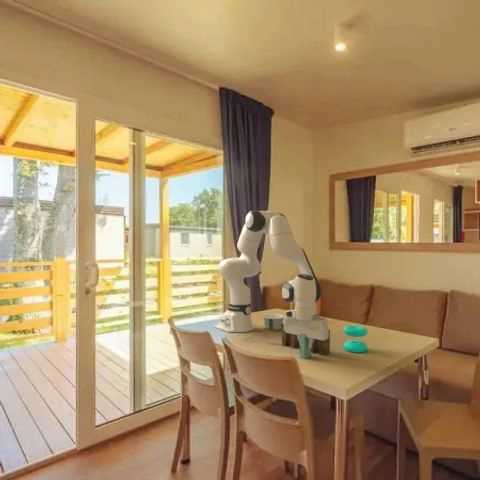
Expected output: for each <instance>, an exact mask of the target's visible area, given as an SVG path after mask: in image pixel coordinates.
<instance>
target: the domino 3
mask: <svg viewBox="0 0 480 480" xmlns="http://www.w3.org/2000/svg"><path fill="white" fill-rule="evenodd" d="M309 341H310V340H309V338H308V337H305V334H302V333H301V334H300V347H299V348H300V349H299V351H300V352H299V355H300V357H299V358H300V359H304V360H306V359H308V358H310V357H311V356H312V353H311V348H307V343H309Z"/></svg>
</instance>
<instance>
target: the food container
mask: <svg viewBox="0 0 480 480" xmlns="http://www.w3.org/2000/svg"><path fill="white" fill-rule="evenodd" d="M285 317H286V316H285V314H284V315H283V314H278V313H268V314H267V313H266V314H263V315H262V318H263V320H264V321H263V322H264V329H266V330H271V331H276V330H277V331H278V330H282V324H283V323H284V319H285Z"/></svg>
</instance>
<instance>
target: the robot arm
mask: <svg viewBox="0 0 480 480" xmlns="http://www.w3.org/2000/svg"><path fill="white" fill-rule="evenodd" d="M263 234H268V238H269V242H270V247H271V250H272V251H273V253H275V254H276V255H277V256H278V257H280V258H284V259H286V260H289V261H291V262H294V263H295V264H296V266H297V268H298V269H299V271H300V273H299V274H297V275H296V276H295V277H294V278H293V279H292V280H287V281H284V283H283V284H282V286H281V289H280V293H281V297H282V299H283V300H284V301H285V302H286V303H290V304H294V308H292V309H290V310H286V311H284V316H285V317H284V319H283V323H284V331H285V332H286V333H290V334H294V335H297V338H298V340H299V342H300V334H301V333H302V334H305V337H308V338H309V340H310V341H309V343H307V348H312V343H313V341H314V339H317V340H322V341H324V340H327V339H328V338H329V331H328V330H329V326H328V325H329V321H328V319H327V318H325V317H324V316H320V315H317V304H316V303H317V302H318V301H319V300H320V298H321V297H322V295H323V287H322V285H321V283H320V281H319V280H318V278H317V276H316V274H315V272H314V270H313V267H312V265H311V263H310V260H309V258H308V256H307V254H306V251H305V250H304V249H303V247H302V246H300V245H299V244H298V242H297V241H296V239H295V236H294V234H293V230H292V227H291V225H290V222H289V220H288V218H287V216H286V215H285V214H283V213H281V212H275V211H271V210H257V209H255V210H250V211H248V212H247V213H246V216H245V218H244V225H243V226H242V230H241V232H240V235H239V237H238V241H237V245H236V247H237V250H238V251H239V253H240V255H239V257H229V258H226V259H223V260H221V261H220V262H219V264H218V273H219V275H220V276H221V278H223V279H224V280H225V281H226V284H227V286H228V288H229V301H230V302H229V303H227V304H226V307H227V310H225V311H224V312H223V313H222V314H221V315H220V316H219V320H218V323H217V324H215V325H214V328H216V329H218V330H221V331H224V332H226V333H246V332H251V331H254V324H253V317H252V303H251V289H250V287H249V286H248V285H246V284H245V282H244V278H251V277H254V276H257V275H258V274H260V272H261V262H260V261H259V260H258V256H257V255H258V254H257V253H258V249H259V247H260V245H261V244H260V243H261V241H262V239H263Z"/></svg>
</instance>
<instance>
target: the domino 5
mask: <svg viewBox="0 0 480 480" xmlns="http://www.w3.org/2000/svg"><path fill="white" fill-rule="evenodd" d="M328 331H329V338H328V339H327V340H324V341H322V340H319V348H320V351H319V355H320V356H326V355H329V354H330V353H331V349H330V348H331V343H330V342H331V337H330V336H331V334H330V333H331V332H330V331H331V329H328Z"/></svg>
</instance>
